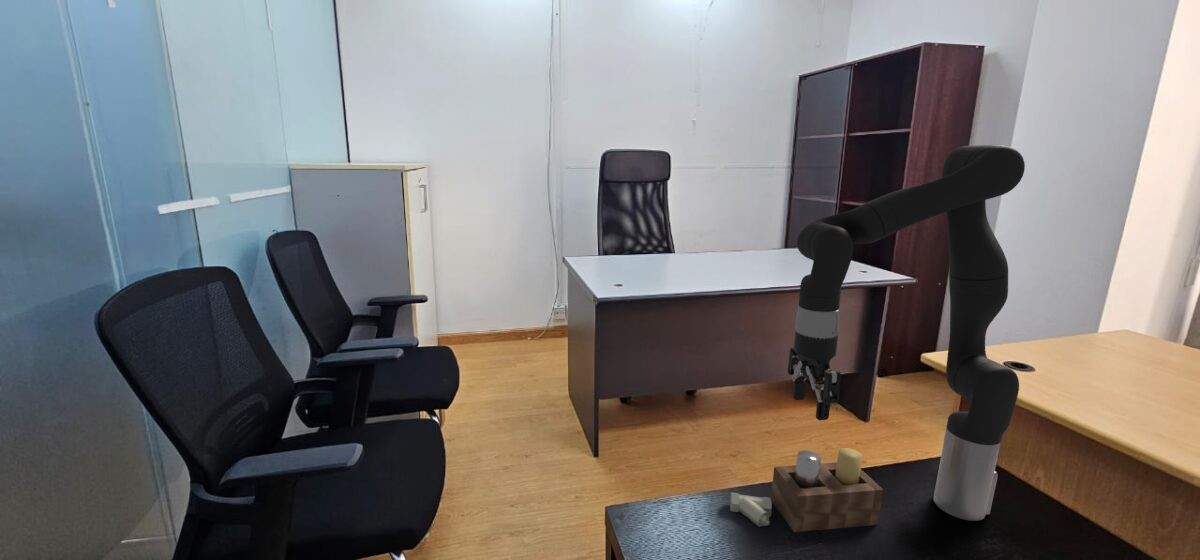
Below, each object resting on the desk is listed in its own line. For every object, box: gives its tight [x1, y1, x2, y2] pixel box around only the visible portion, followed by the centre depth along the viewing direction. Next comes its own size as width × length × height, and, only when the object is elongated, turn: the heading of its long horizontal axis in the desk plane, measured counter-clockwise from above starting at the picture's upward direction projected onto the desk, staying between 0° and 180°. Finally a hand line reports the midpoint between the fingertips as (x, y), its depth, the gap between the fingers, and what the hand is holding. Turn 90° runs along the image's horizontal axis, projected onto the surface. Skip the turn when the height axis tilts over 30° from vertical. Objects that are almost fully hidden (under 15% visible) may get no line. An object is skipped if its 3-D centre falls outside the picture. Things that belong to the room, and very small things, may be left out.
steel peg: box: [795, 450, 822, 488], centre depth 106 cm, size 4×4×8 cm
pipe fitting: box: [729, 492, 773, 528], centre depth 106 cm, size 8×4×7 cm
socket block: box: [770, 461, 884, 533], centre depth 107 cm, size 18×10×8 cm, turn 98°
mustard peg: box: [835, 447, 863, 485], centre depth 107 cm, size 4×4×8 cm
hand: (809, 408), depth 102 cm, fingers open, 8 cm apart
